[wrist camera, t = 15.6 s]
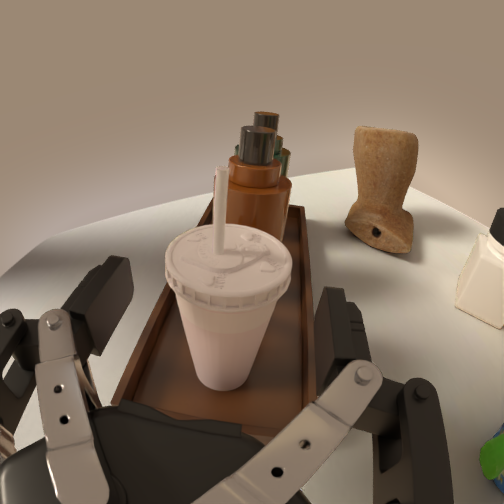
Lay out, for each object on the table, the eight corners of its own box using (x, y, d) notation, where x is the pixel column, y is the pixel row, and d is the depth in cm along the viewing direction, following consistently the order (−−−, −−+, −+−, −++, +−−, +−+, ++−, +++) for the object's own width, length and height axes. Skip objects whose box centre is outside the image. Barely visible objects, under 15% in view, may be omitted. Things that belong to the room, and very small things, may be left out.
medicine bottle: (500, 331, 25) (551, 241, 19) (453, 307, 29) (498, 212, 22) (499, 299, 30) (538, 220, 24) (457, 278, 34) (492, 195, 27)
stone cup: (347, 200, 51) (365, 115, 43) (412, 222, 47) (436, 137, 38) (320, 233, 40) (342, 119, 32) (405, 265, 35) (443, 150, 27)
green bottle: (218, 229, 37) (225, 110, 29) (249, 214, 41) (260, 108, 33) (258, 249, 34) (274, 119, 26) (288, 231, 38) (306, 117, 30)
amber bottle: (197, 281, 28) (200, 126, 21) (239, 255, 33) (251, 119, 25) (248, 313, 26) (268, 141, 18) (287, 281, 30) (313, 134, 22)
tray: (308, 452, 16) (318, 439, 15) (118, 418, 16) (110, 402, 15) (301, 220, 42) (304, 206, 41) (213, 209, 43) (214, 194, 41)
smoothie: (170, 342, 22) (156, 151, 14) (251, 329, 24) (275, 149, 16) (186, 416, 17) (165, 203, 9) (282, 395, 19) (339, 195, 11)
